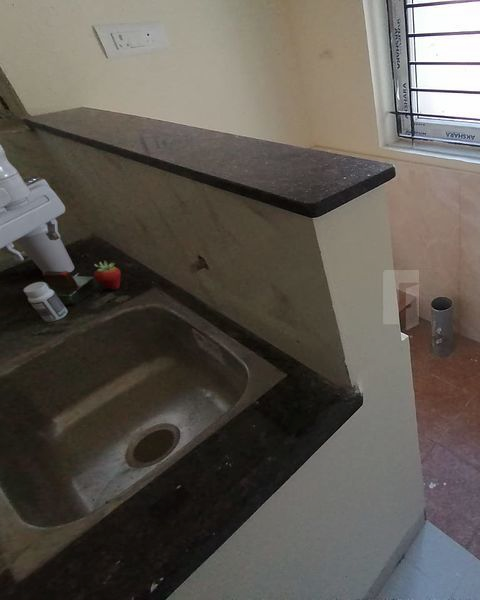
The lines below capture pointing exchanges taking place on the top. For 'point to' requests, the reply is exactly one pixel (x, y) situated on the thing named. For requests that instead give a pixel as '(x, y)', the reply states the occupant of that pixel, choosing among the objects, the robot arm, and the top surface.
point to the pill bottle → (45, 301)
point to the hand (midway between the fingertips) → (39, 248)
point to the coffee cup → (46, 251)
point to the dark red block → (59, 279)
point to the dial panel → (76, 290)
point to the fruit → (108, 275)
